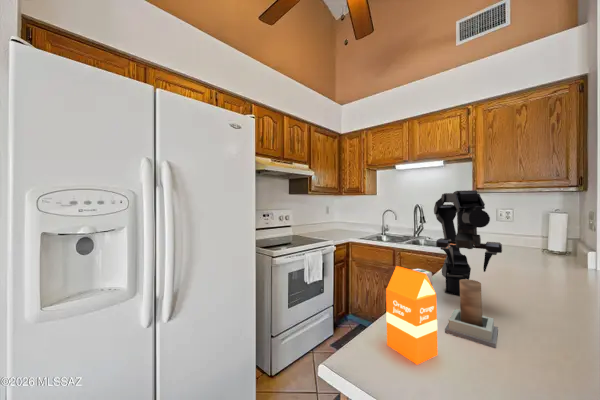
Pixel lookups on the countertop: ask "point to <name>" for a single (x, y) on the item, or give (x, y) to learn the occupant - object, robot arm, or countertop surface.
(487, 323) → the dock
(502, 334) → the countertop surface
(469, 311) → the walnut plug
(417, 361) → the orange juice
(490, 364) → the countertop surface
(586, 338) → the countertop surface
